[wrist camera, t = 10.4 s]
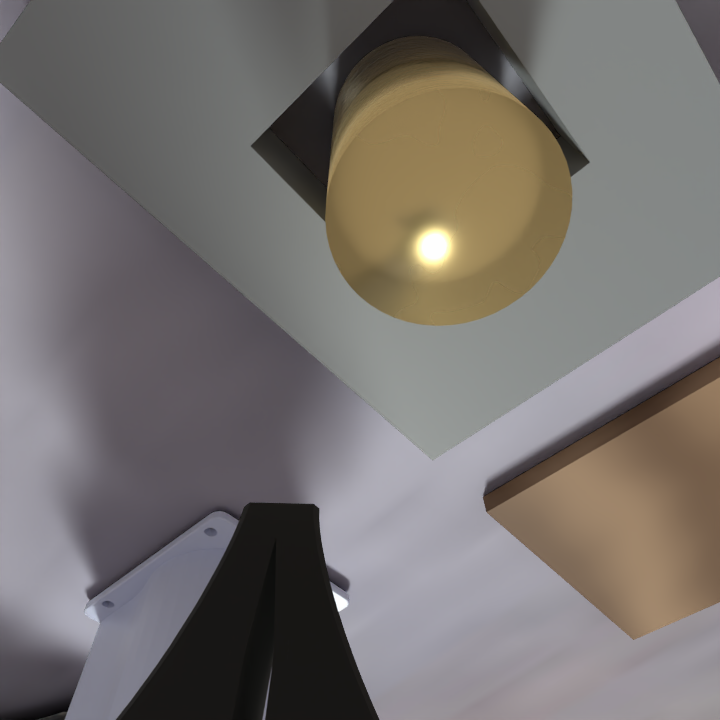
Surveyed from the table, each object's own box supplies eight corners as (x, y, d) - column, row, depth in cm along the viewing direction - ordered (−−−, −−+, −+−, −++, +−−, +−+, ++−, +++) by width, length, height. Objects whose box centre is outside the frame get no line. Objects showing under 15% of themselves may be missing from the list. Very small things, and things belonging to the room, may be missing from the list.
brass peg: (482, 205, 18) (545, 327, 12) (333, 202, 18) (325, 324, 12) (506, 38, 16) (599, 91, 10) (333, 33, 16) (324, 84, 10)
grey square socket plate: (425, 412, 22) (432, 460, 20) (31, 51, 16) (-17, 68, 14) (744, 195, 18) (795, 227, 16) (389, -437, 11) (399, -522, 9)
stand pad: (627, 624, 30) (633, 639, 29) (482, 497, 25) (486, 512, 24) (887, 507, 26) (901, 522, 25) (776, 324, 20) (790, 336, 20)
